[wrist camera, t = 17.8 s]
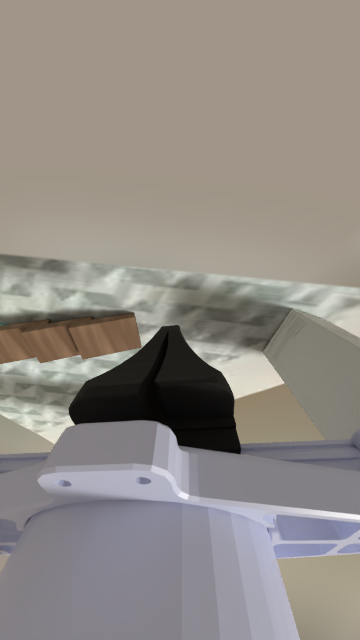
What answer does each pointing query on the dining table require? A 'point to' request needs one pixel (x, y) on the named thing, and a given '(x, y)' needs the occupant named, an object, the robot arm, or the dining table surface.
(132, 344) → the walnut domino
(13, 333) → the walnut domino
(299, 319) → the skincare box
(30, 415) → the dining table surface
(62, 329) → the walnut domino
